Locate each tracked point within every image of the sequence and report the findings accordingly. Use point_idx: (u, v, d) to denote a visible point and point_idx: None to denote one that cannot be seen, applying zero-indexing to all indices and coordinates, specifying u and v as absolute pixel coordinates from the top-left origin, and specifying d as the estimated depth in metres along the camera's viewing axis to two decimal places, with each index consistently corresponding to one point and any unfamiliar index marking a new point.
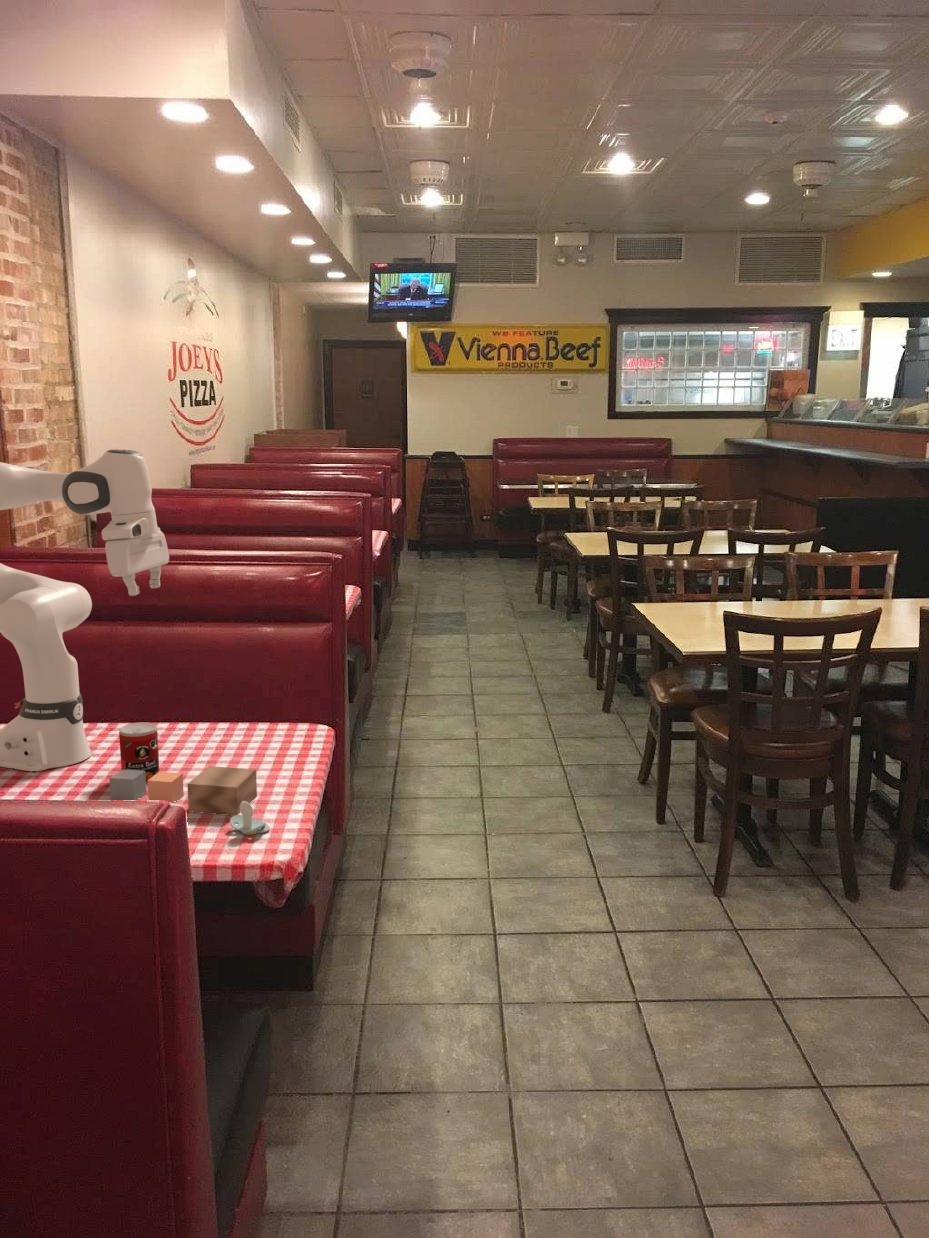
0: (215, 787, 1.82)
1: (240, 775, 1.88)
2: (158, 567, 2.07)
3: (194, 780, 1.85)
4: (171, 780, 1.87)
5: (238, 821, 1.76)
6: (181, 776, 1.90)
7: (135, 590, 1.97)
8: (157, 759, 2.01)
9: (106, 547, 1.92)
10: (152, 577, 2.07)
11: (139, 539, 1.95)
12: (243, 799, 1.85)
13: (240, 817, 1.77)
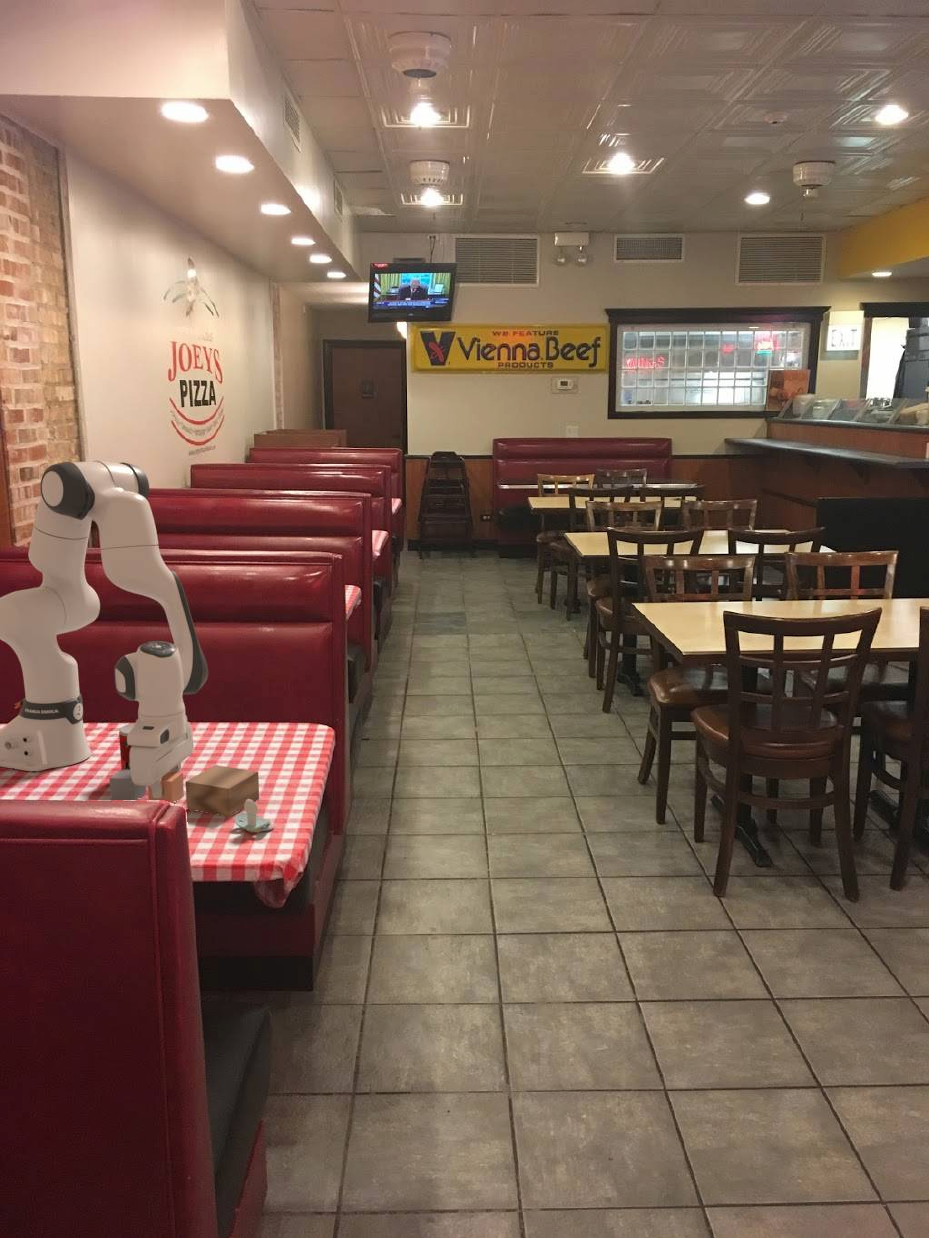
0: (209, 787, 1.82)
1: (240, 776, 1.87)
2: (178, 763, 1.92)
3: (193, 778, 1.86)
4: (171, 780, 1.87)
5: (243, 819, 1.77)
6: (181, 775, 1.90)
7: (160, 793, 1.85)
8: None
9: (130, 754, 1.79)
10: None
11: (166, 744, 1.82)
12: (239, 801, 1.84)
13: (244, 815, 1.78)
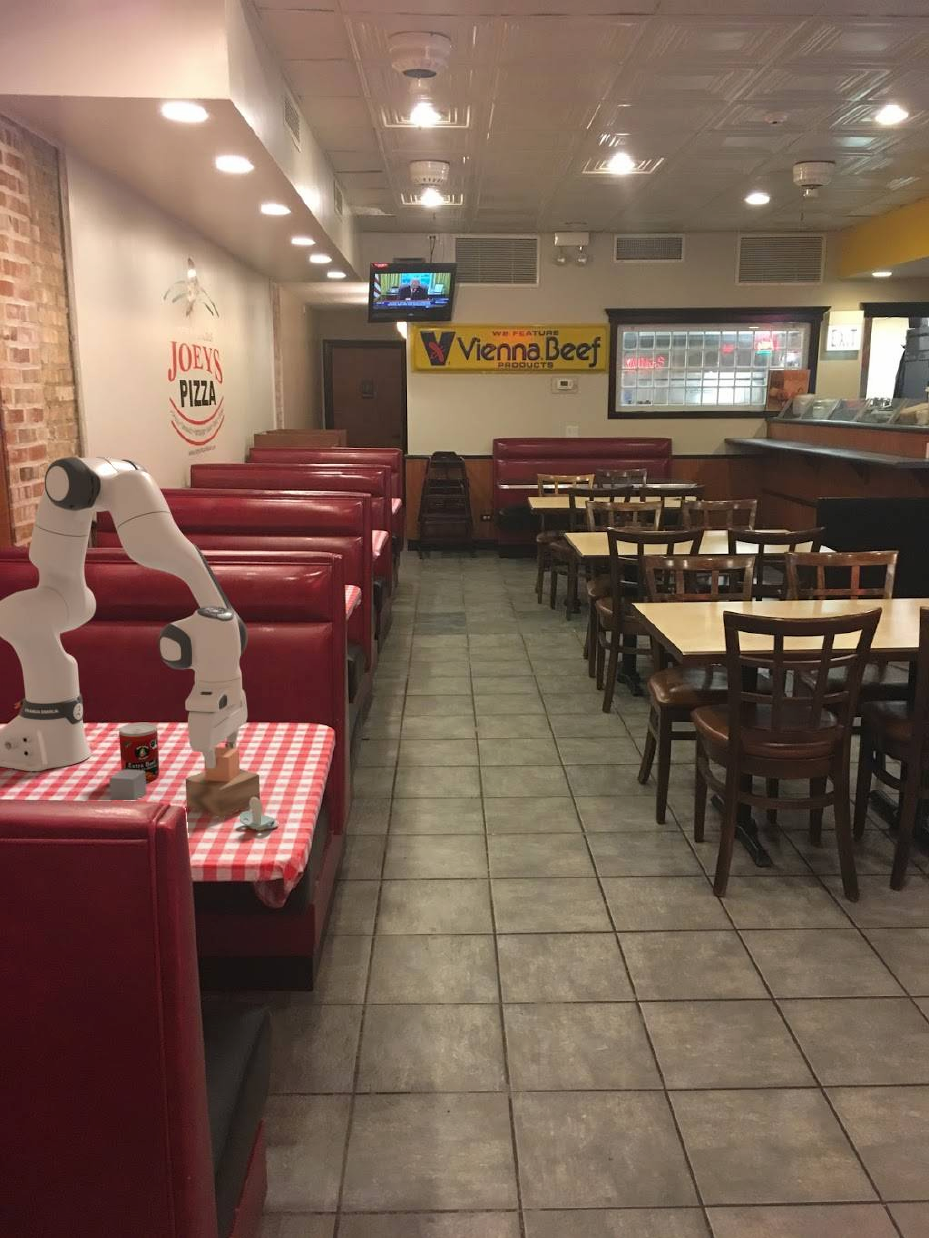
0: (204, 786, 1.83)
1: (238, 778, 1.86)
2: (236, 729, 1.91)
3: (195, 776, 1.87)
4: (228, 756, 1.84)
5: (247, 817, 1.78)
6: (237, 752, 1.88)
7: (213, 763, 1.81)
8: (157, 759, 2.01)
9: (189, 720, 1.75)
10: (228, 739, 1.91)
11: (224, 710, 1.79)
12: (233, 802, 1.83)
13: (249, 813, 1.79)
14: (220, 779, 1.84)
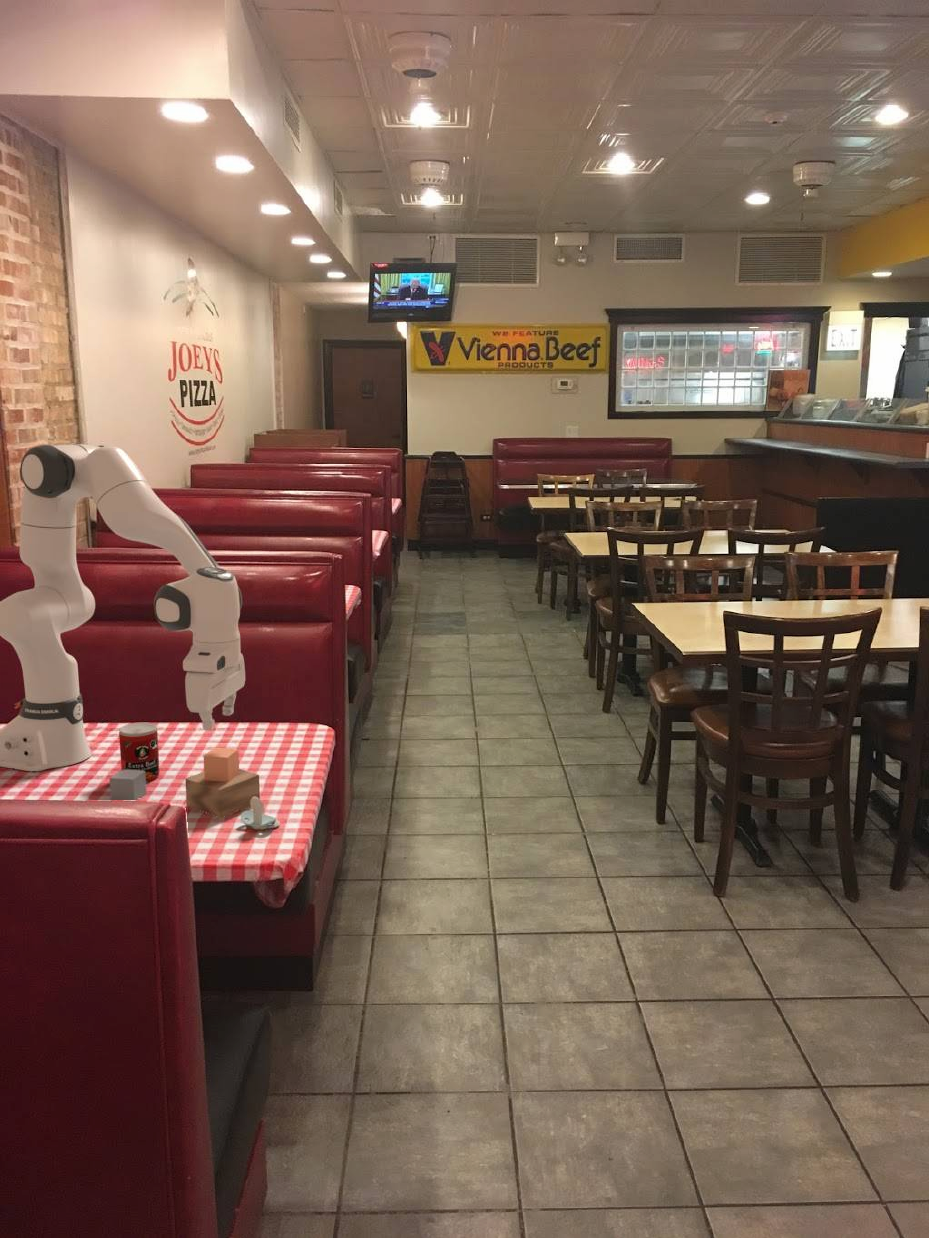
0: (204, 787, 1.83)
1: (238, 778, 1.86)
2: (234, 693, 1.89)
3: (195, 776, 1.87)
4: (227, 756, 1.84)
5: (248, 816, 1.79)
6: (237, 752, 1.88)
7: (210, 725, 1.79)
8: (157, 759, 2.01)
9: (186, 680, 1.74)
10: (226, 703, 1.89)
11: (222, 671, 1.78)
12: (233, 803, 1.83)
13: (250, 813, 1.79)
14: (219, 779, 1.84)
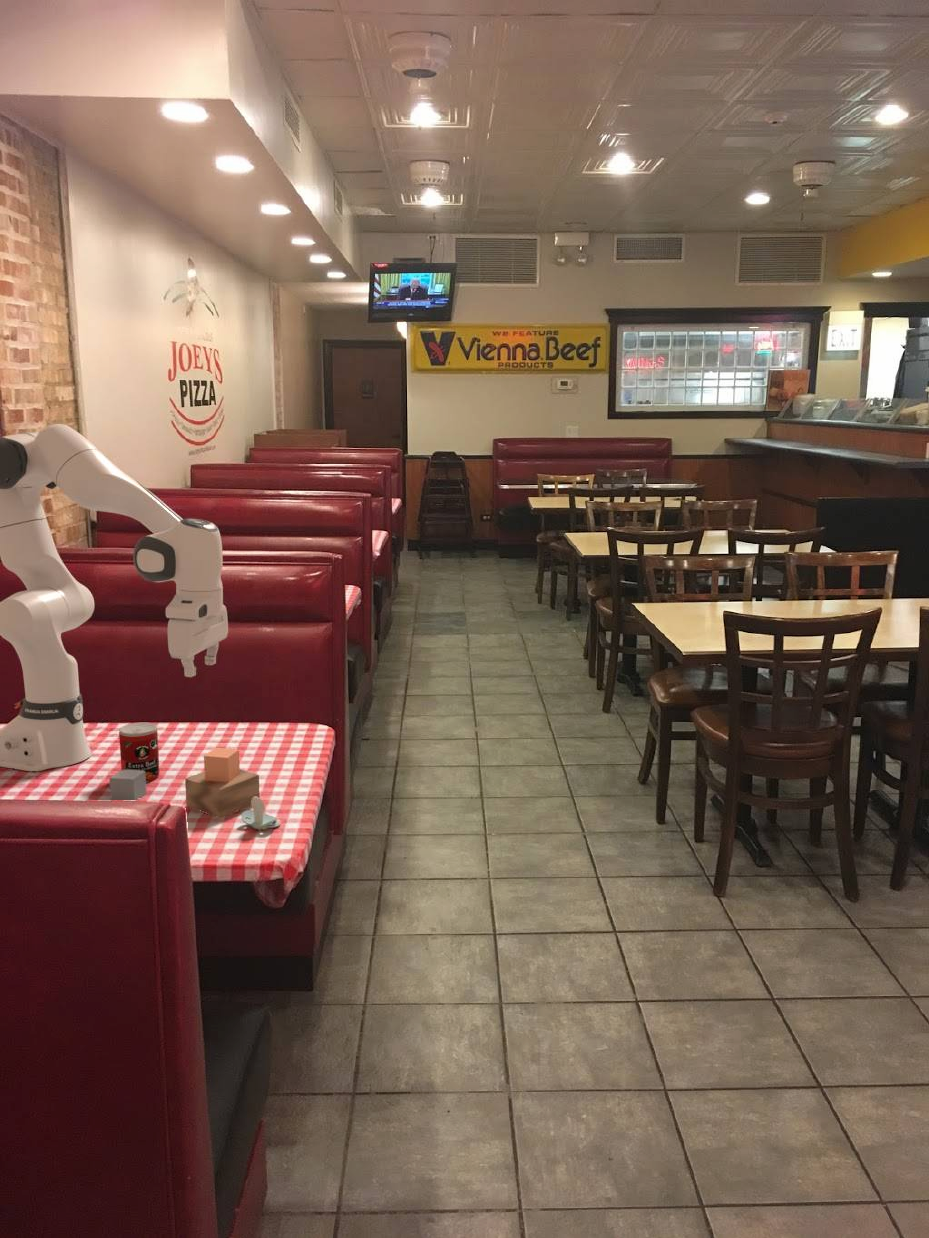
0: (204, 787, 1.83)
1: (238, 778, 1.86)
2: (216, 643, 1.94)
3: (194, 776, 1.87)
4: (228, 756, 1.84)
5: (249, 816, 1.79)
6: (237, 752, 1.87)
7: (192, 672, 1.84)
8: (157, 759, 2.01)
9: (169, 626, 1.79)
10: (208, 653, 1.94)
11: (204, 619, 1.82)
12: (232, 803, 1.83)
13: (251, 812, 1.80)
14: (219, 779, 1.84)
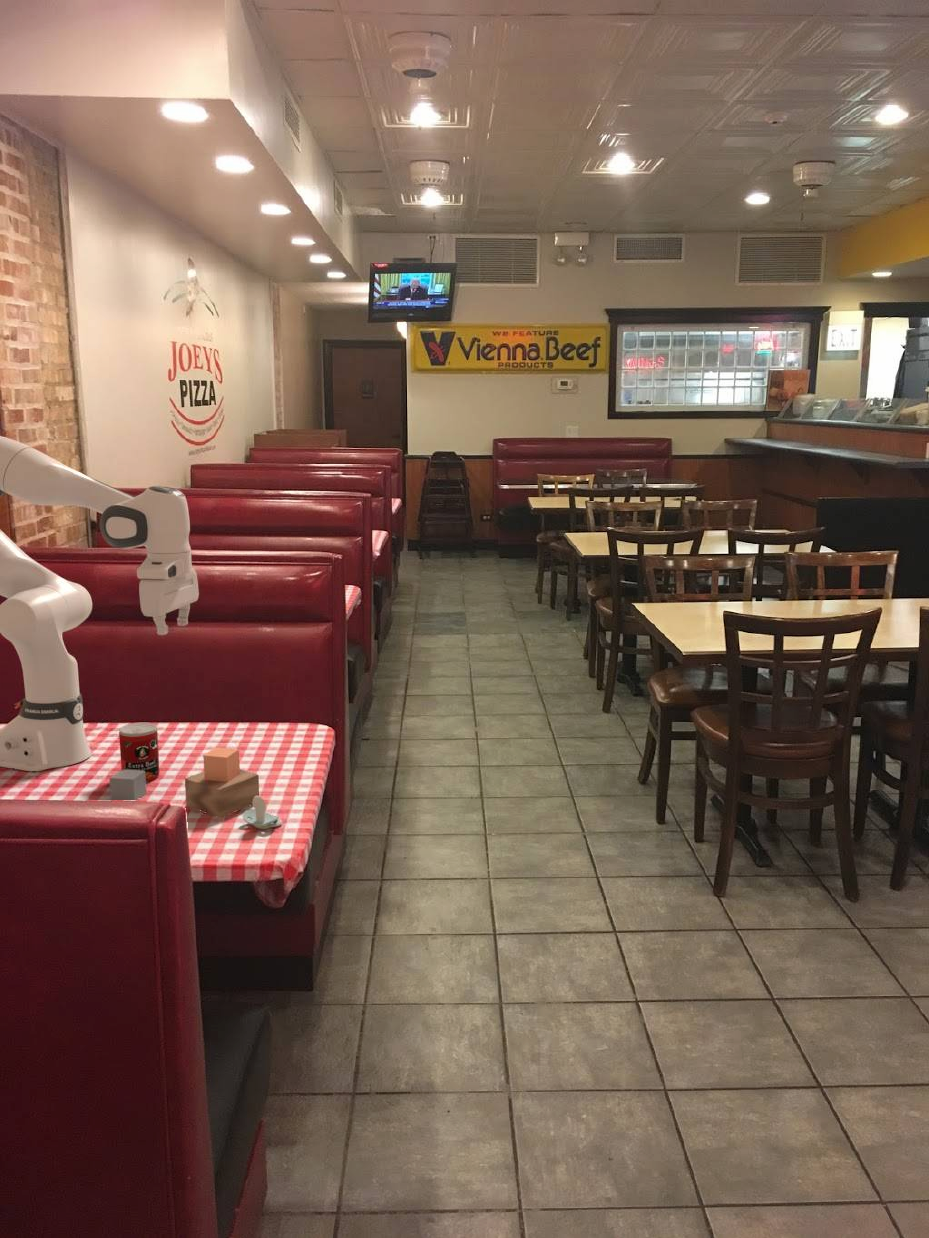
0: (204, 786, 1.83)
1: (237, 778, 1.86)
2: (187, 605, 2.05)
3: (194, 776, 1.87)
4: (227, 756, 1.84)
5: (251, 815, 1.79)
6: (237, 752, 1.87)
7: (164, 630, 1.95)
8: (157, 759, 2.01)
9: (140, 586, 1.90)
10: (180, 614, 2.05)
11: (173, 580, 1.94)
12: (232, 803, 1.83)
13: (253, 811, 1.80)
14: (218, 779, 1.84)
